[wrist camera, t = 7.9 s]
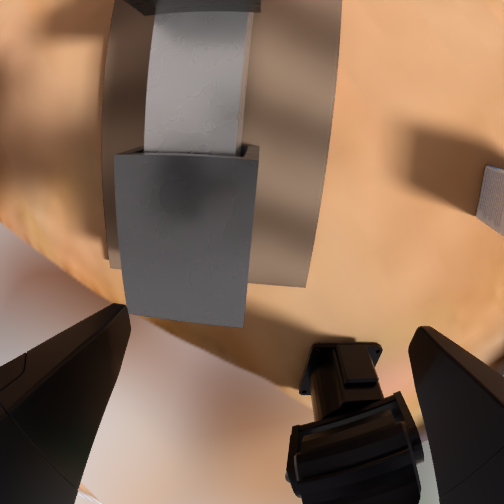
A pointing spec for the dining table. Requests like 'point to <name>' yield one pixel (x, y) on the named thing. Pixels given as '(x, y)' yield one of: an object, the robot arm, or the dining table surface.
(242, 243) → the outer sleeve
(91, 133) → the dining table surface
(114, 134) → the base board
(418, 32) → the dining table surface
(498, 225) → the medicine box
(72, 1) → the dining table surface
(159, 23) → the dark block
